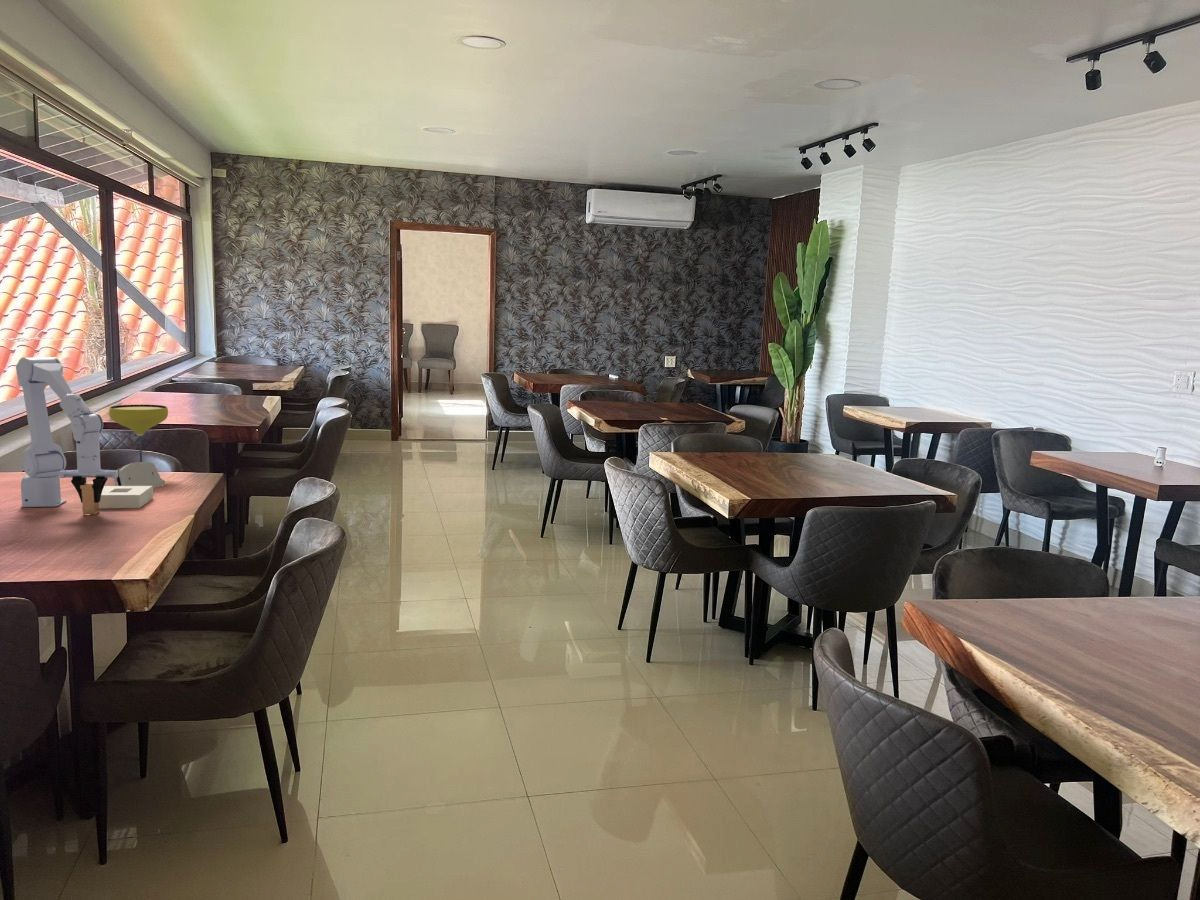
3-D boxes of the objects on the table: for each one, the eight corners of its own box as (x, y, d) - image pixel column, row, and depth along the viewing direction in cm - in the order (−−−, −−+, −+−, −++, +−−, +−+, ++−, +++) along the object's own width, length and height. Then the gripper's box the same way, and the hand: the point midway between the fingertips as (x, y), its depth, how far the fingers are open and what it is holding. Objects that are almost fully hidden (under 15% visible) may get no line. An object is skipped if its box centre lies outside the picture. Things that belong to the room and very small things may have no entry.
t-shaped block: (81, 516, 240) (80, 485, 238) (89, 511, 245) (87, 481, 244) (93, 516, 240) (91, 485, 239) (100, 511, 246) (99, 481, 245)
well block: (88, 508, 249) (87, 495, 248) (103, 498, 262) (103, 486, 262) (140, 507, 252) (139, 494, 252) (152, 498, 266) (152, 485, 265)
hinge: (130, 494, 270) (119, 464, 269) (118, 498, 271) (108, 468, 270) (166, 485, 286) (157, 457, 285) (155, 488, 287) (146, 460, 286)
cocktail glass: (165, 471, 310) (163, 404, 306) (174, 479, 296) (171, 409, 292) (109, 474, 300) (106, 405, 296) (115, 483, 285) (112, 410, 281)
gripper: (54, 458, 235) (57, 505, 237) (111, 458, 238) (114, 504, 240) (64, 454, 241) (66, 500, 243) (119, 454, 245) (121, 499, 247)
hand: (90, 502), depth 242 cm, fingers closed on t-shaped block, 3 cm apart
